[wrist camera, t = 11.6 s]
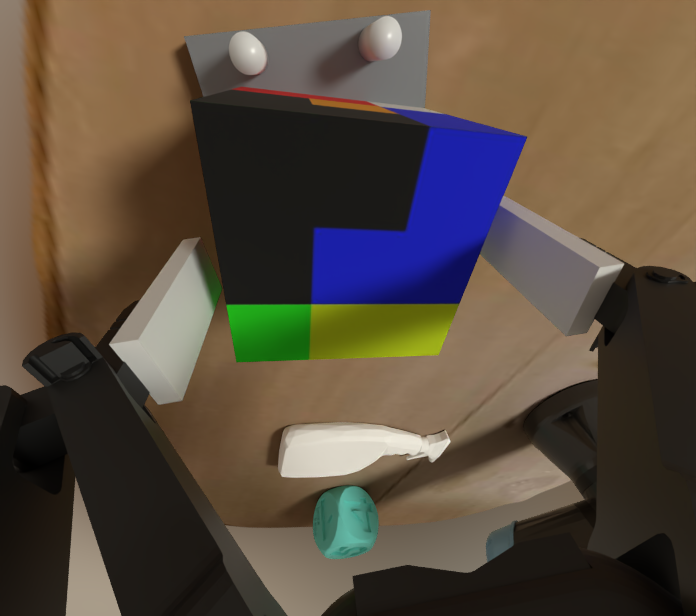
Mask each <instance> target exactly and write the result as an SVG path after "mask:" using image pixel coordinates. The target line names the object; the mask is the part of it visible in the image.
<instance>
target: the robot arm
mask: <svg viewBox="0 0 696 616" xmlns="http://www.w3.org/2000/svg"><path fill="white" fill-rule="evenodd" d="M480 255H481V256H482V257H484V258H485V259H486V260H487V261H488V262H489V263H490V264H491V265H492V266H493V267H494V268H495V269H496V270H497V271H498V272H499V273H500V274H501V275H502V276H503V277H504V278H506V279H507V280H508V281H509V282H510V283H511V284H512V285H513V286H514V287H515V288H516V289H517V290H518V291H519V292H520V293H521V294H522V295H523V296H524V297H525V298H526V299H528V300H529V301H530V302H531V303H532V304H533V305H534V306H535V307H536V308H537V309H538V310H539V311H540V312H541V313H542V314H543V315H544V316H545V317H546V318H547V319H548V320H550V321H551V322H552V323H553V324H554V325H555V326H556V327H557V328H558V329H559V330H560V331H561V332H562V333H563V334H564V335H565V336H571V335H577V334H583V333H587V332H588V330H589V328H590V326H591V325H592V323H593V321H594V319H596V320H597V321H598V322H599V323H601V324H602V325H603V327H602V328H601V330H600V332H599V334H598V335H597V337H596V339H595V341H594V342H593V344H592V346H591V348H590V350H589V351H594V349H595V348H597V347H598V380H595V381H590V382H586V383H582V384H579V385H576V386H573V387H571V388H568V389H566V390H564V391H562V392H560V393H558V394H556V395H554V396H552V397H551V398H549V399H547V400H546V401H545V402H543V403H542V404H540V405H539V406H538V407H537V408H536V409H534V410H533V411H532V412H531V414H530V415H529V416H528V417H527V419H526V421H525V423H524V431H525V433H526V435H527V436H528V438H529V439H530V441H531V442H532V444H533V445H534V446H535V447H536V448H537V449H538V450H540V451H541V452H542V453H543V454H544V455H545V456H546V457H547V458H548V459H549V460H550V461H551V462H552V463H554V464H555V465H556V466H557V467H558V468H559V469H560V470H561V471H562V472H564V473H565V474H566V475H567V476H568V477H569V478H570V479H571V480H572V481H573V483H574V484H575V486H576V487H577V489H578V490H579V492H580V493H581V494H582V496H583V498H584V499H585V500H583V501H580V502H577V503H574V504H571V505H568V506H565V507H562V508H559V509H556V510H552V511H550V512H547V513H544V514H540V515H537V516H534V517H531V518H528V519H525V520H522V521H519V522H518V521H513V522H512V523H511V524H510V525H507V526H505V527H503V528H500V529H498V530H495V531H493V532H492V533H491V534H490V535H489V536H488V538H487V542H486V556H487V563H486V564H484V565H483V566H481V567H480V568H478V569H476V570H475V571H473V572H470V573H462V572H454V571H447V570H440V569H432V568H425V567H418V566H411V565H405V566H400V567H395V568H390V569H386V570H380V571H375V572H370V573H365V574H360V575H356V576H353V584H354V588H353V589H352V590H350V591H348V592H347V593H345V594H344V595H342V596H341V597H340V598H339V599H337V600H336V602H334V603H333V604H332V605H331V606H330V607H329V608H328V609H327V610H326V611H325V612H324V613H323V614H322V615H321V616H696V282H692V280H691V279H690V278H689V277H687V276H686V275H684V274H682V273H680V272H677V271H674V270H672V269H667V268H663V267H656V266H643V267H639V268H635V267H633V266H631V265H630V264H628V263H626V262H624V261H623V260H621V259H619V258H617V257H615V256H614V255H612V254H610V253H608V252H606V253H605V250H603V249H601V248H599V247H596V245H594V244H592V243H590V242H588V241H587V240H585V239H582V238H579V237H576V236H575V235H573V234H571V233H569V232H568V231H566V230H564V229H562V228H560V227H559V226H557V225H555V224H553V223H552V222H550V221H548V220H546V219H544V218H543V217H541V216H539V215H537V214H536V213H534V212H532V211H530V210H528V209H527V208H525V207H523V206H521V205H520V204H518V203H516V202H514V201H512V200H511V199H509V198H507V197H505V196H504V195H503V198H502V200H501V203H500V205H499V208H498V210H497V213H496V215H495V217H494V220H493V222H492V225H491V227H490V230H489V232H488V235H487V237H486V239H485V242H484V244H483V247H482V249H481V252H480ZM221 291H222V287H221V284H220V282H219V279H218V277H217V275H216V272H215V270H214V268H213V265H212V263H211V261H210V258H209V256H208V253H207V251H206V249H205V246H204V244H203V242H202V239H201V237H198V238H191V239H184V240H182V242H181V243H180V245H179V246H178V247H177V249H176V250H175V252H174V253H173V255H172V256H171V257H170V259H169V260H168V262H167V263H166V264H165V266H164V267H163V269H162V270H161V271H160V273H159V274H158V276H157V277H156V279H155V280H154V281H153V283H152V284H151V286H150V287H149V288H148V290H147V291H146V293H145V294H144V295H143V297H142V298H141V300H138V301H135V302H133V303H132V304H131V305H129V306H128V307H127V308H126V309H124V310H123V311H122V313H121V314H120V315H119V317H118V318H117V319H116V322H114V323H113V325H112V326H111V327H110V330H108V331H107V333H106V334H105V335H104V337H103V338H102V339H101V341H100V342H99V343H98V345H97V346H96V347H94V346H93V345H92V344H91V343H90V341H89V340H88V339H87V338H86V337H85V336H84V335H83V334H81V333H68V334H63V335H60V336H57V337H55V338H52V339H50V340H48V341H46V342H44V343H43V344H41V345H39V346H38V347H36V348H35V349H34V350H33V351H31V352H30V353H29V354H28V355H27V356H26V357H25V359H24V360H23V364H22V366H23V367H24V368H25V369H26V370H27V371H28V372H29V373H30V374H32V375H33V376H34V377H35V378H36V379H37V380H38V381H40V382H41V383H42V384H43V385H44V387H42V388H39V389H36V390H33V391H31V392H28V393H25V394H22V395H19V394H18V393H17V392H16V391H14V390H13V389H12V388H10V387H8V386H0V616H65V615H66V602H67V588H68V574H69V558H70V545H71V531H72V516H73V501H74V487H75V476H76V479H77V482H78V485H79V488H80V491H81V494H82V497H83V501H84V503H85V507H86V509H87V512H88V516H89V519H90V522H91V524H92V528H93V531H94V534H95V537H96V540H97V543H98V546H99V549H100V552H101V555H102V558H103V561H104V564H105V567H106V570H107V573H108V576H109V579H110V582H111V585H112V588H113V591H114V594H115V597H116V600H117V604H118V607H119V609H120V613H121V616H287V615H286V613H285V612H284V610H283V609H282V608H281V606H280V605H279V604H278V603H277V601H276V600H275V599H274V597H273V596H272V595H271V594H270V592H269V591H268V590H267V588H266V587H265V585H264V584H263V583H262V581H261V579H260V578H259V576H258V575H257V574H256V572H255V570H254V569H253V567H252V566H251V564H250V563H249V561H248V560H247V558H246V557H245V555H244V554H243V552H242V551H241V549H240V548H239V546H238V545H237V543H236V542H235V540H234V539H233V537H232V535H231V534H230V532H229V531H228V529H227V528H226V526H225V525H224V523H223V522H222V520H221V519H220V517H219V516H218V514H217V513H216V511H215V510H214V508H213V507H212V505H211V503H210V502H209V500H208V499H207V497H206V496H205V494H204V493H203V491H202V490H201V488H200V487H199V485H198V484H197V482H196V481H195V479H194V478H193V476H192V475H191V473H190V472H189V470H188V468H187V467H186V465H185V464H184V462H183V461H182V459H181V458H180V456H179V455H178V453H177V452H176V450H175V449H174V447H173V446H172V444H171V443H170V441H169V440H168V438H167V437H166V435H165V434H164V432H163V430H162V429H161V427H160V426H159V424H158V423H157V421H156V420H155V418H154V417H153V415H152V414H151V412H150V411H149V410H148V408H147V407H146V406H145V405H144V404H145V402H146V400H147V397H148V395H149V394H150V395H151V396H152V398H153V399H154V400H155V401H156V403H157V404H158V405H160V404H166V403H172V402H178V401H182V400H183V398H184V395H185V392H186V389H187V386H188V383H189V381H190V378H191V375H192V372H193V369H194V367H195V364H196V361H197V358H198V355H199V353H200V350H201V347H202V344H203V341H204V339H205V336H206V333H207V330H208V327H209V324H210V322H211V319H212V316H213V313H214V310H215V308H216V305H217V302H218V299H219V296H220V294H221Z"/></svg>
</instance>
